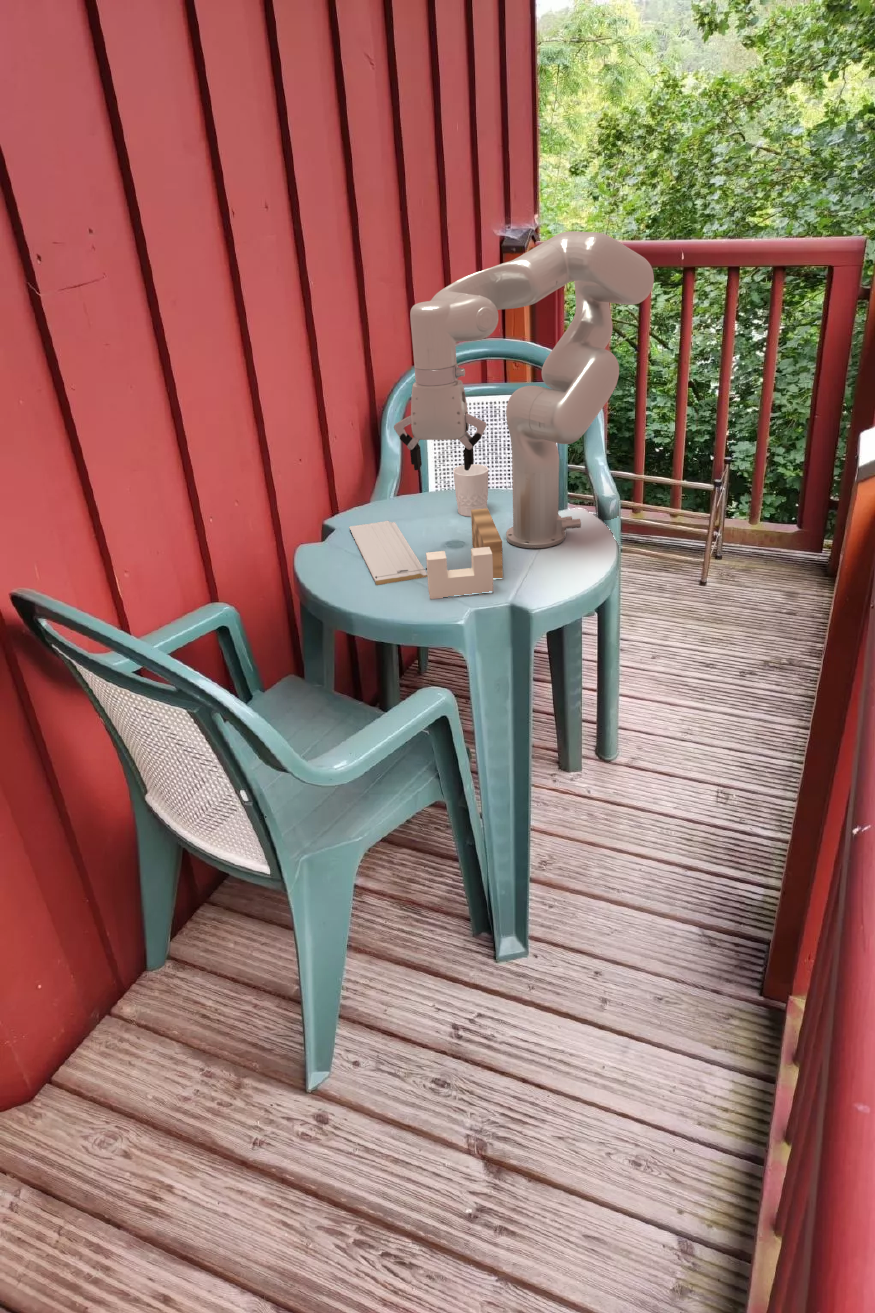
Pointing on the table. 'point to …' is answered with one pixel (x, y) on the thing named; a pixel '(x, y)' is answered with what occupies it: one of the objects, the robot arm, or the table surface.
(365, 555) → the baseboard molding
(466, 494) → the white cup
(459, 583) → the cream upright board
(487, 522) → the oak slotted board
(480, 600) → the table surface
